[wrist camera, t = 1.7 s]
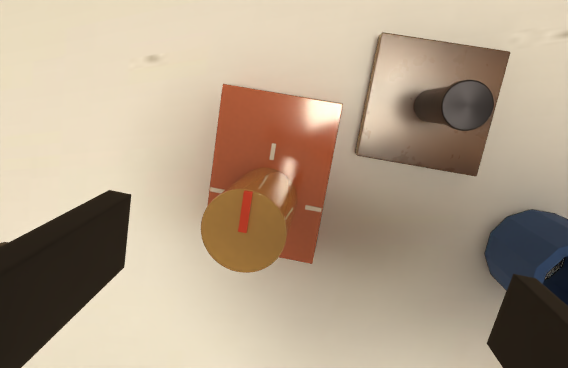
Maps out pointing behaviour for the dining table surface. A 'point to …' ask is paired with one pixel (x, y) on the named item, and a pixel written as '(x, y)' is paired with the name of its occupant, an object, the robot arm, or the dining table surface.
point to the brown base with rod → (430, 103)
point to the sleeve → (530, 250)
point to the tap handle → (250, 220)
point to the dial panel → (278, 152)
